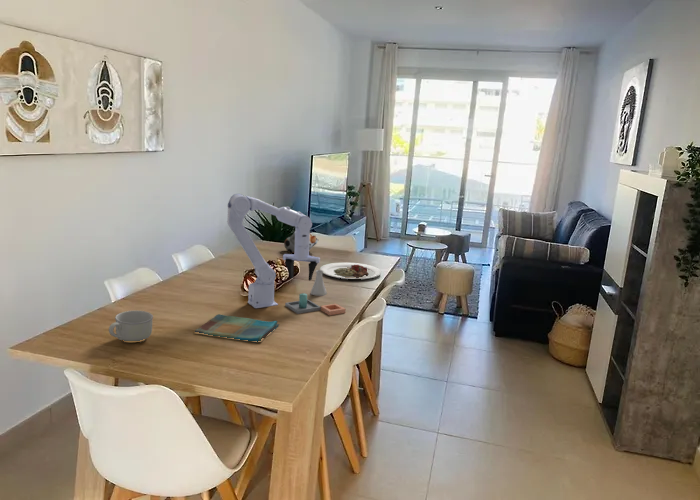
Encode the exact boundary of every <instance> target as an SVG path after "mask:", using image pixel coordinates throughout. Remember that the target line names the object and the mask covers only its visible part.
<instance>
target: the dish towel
mask: <svg viewBox="0 0 700 500" xmlns="http://www.w3.org/2000/svg"><path fill="white" fill-rule="evenodd" d="M279 325H280V324H279V323H278V320H274V321H273V320H272V321H267V320H266V321H265V320H259V319H256V318H255V319H254V318H247V317H240V316H239V317H238V316H235V315H234V316H233V315H225V314H216V315H215V316H214V317H212V318H210V319H209V320H208V321H207V322H205V323H204V324H202V325H201V326H199V327H198V328H196V329H195V330H194V332H199V333H204V334H208V335H213V336H220V337H227V338H234V339H240V340H248V341H257V342H258V341H261V339H262V338H265V337H266V336H267V335H268V334H269V333H270V332H272V331H273V330H274V329H275V330H277V328H279ZM275 330H274V331H275ZM274 331H273V332H274ZM273 332H272V333H273ZM267 337H268V336H267ZM267 337H266V338H267ZM266 338H265V339H266Z"/></svg>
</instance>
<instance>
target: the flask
mask: <svg viewBox="0 0 700 500" xmlns="http://www.w3.org/2000/svg"><path fill="white" fill-rule="evenodd" d="M315 273H316V276H315V280H314V283H313V285H312V288H311V290H310V295H313V296H316V297H321V296H326V295H327V294H328V292H327V289H326V286H325V285H326V284H325V282H324V278H323V275H324V273H323V271H322V270H320V269H315Z"/></svg>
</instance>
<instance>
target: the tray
mask: <svg viewBox="0 0 700 500" xmlns="http://www.w3.org/2000/svg"><path fill="white" fill-rule="evenodd" d="M284 306H285V307H286V308H288V309H289V310H291V311H293V312H294V313H295V314H297V315H298V314H299V315H300V314H305V313H310V312H317V311H321V307H320V306H321V305H318V304H316V303H315V302H313V301H311V300H310V299H307V308H299V300H295V301H289V302H288V301H287V302H285V305H284Z"/></svg>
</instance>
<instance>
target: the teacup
mask: <svg viewBox="0 0 700 500" xmlns="http://www.w3.org/2000/svg"><path fill="white" fill-rule="evenodd" d="M114 317H115V318H114V319H115V322H112V323H111V324H110V325H109V327H108V333H109V334H110V335H111V336H112V337H114V338H117V340H121V341H122V340H124V341H140V340H143V339H146V338H147V339H148V338H149V337H151V335H152V331H153V318H154V316H153V314H152V313H151V312H148V311H145V310H127V311H122V312H120V313H118V314H116V315H115V316H114ZM114 329H115V332H114ZM147 339H146V340H147Z"/></svg>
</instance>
